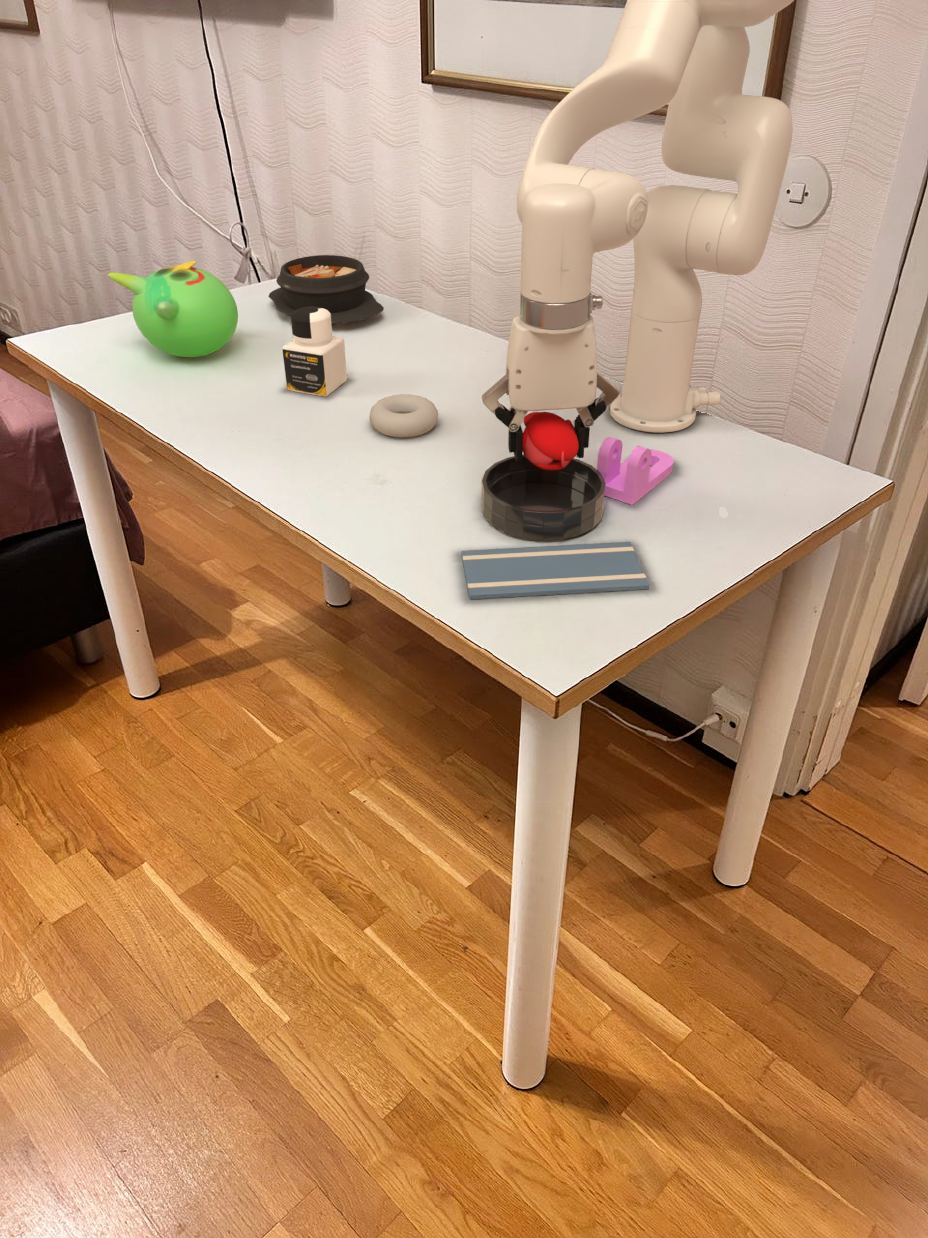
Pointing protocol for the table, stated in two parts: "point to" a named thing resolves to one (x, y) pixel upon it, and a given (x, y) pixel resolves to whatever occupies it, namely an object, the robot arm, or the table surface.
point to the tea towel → (552, 570)
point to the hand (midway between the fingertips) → (547, 453)
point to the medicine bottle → (314, 354)
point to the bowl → (542, 499)
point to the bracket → (631, 470)
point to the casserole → (326, 288)
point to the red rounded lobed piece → (549, 440)
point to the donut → (403, 415)
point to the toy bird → (182, 309)
